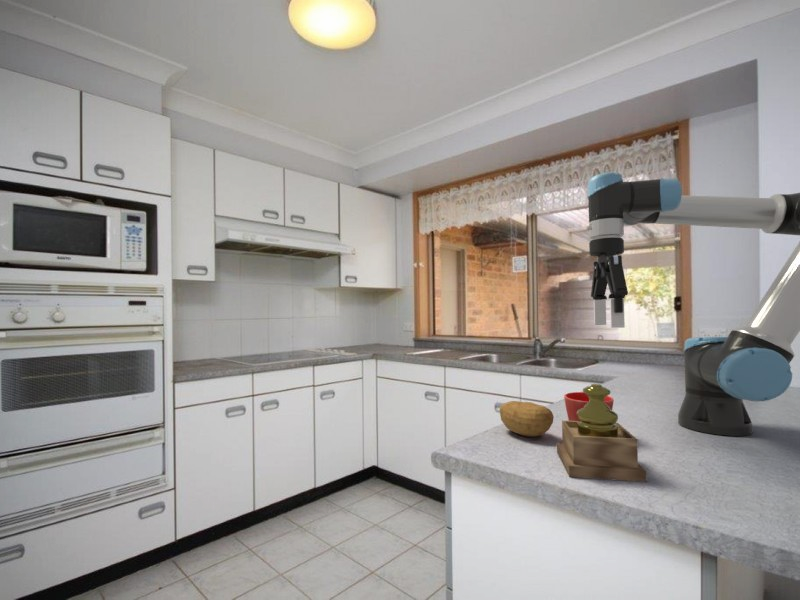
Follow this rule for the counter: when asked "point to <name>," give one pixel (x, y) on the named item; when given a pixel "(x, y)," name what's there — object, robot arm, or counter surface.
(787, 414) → the counter surface
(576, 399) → the flower pot
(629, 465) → the brown wooden square box
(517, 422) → the potato
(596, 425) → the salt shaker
